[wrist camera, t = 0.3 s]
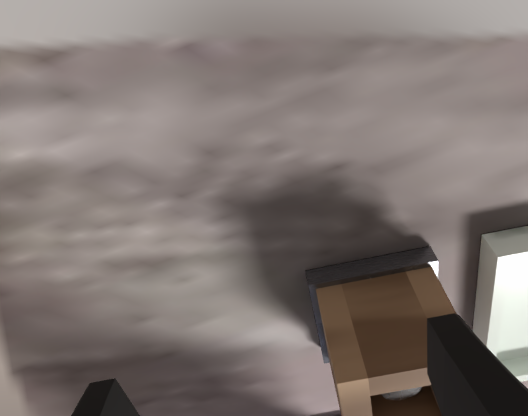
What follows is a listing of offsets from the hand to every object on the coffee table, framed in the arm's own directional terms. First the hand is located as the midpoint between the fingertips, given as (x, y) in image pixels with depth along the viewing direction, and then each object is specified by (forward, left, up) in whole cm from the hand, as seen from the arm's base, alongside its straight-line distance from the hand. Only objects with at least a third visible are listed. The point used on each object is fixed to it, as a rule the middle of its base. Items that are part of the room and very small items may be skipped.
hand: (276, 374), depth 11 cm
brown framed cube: (-9, -4, -9) cm, 14 cm away
